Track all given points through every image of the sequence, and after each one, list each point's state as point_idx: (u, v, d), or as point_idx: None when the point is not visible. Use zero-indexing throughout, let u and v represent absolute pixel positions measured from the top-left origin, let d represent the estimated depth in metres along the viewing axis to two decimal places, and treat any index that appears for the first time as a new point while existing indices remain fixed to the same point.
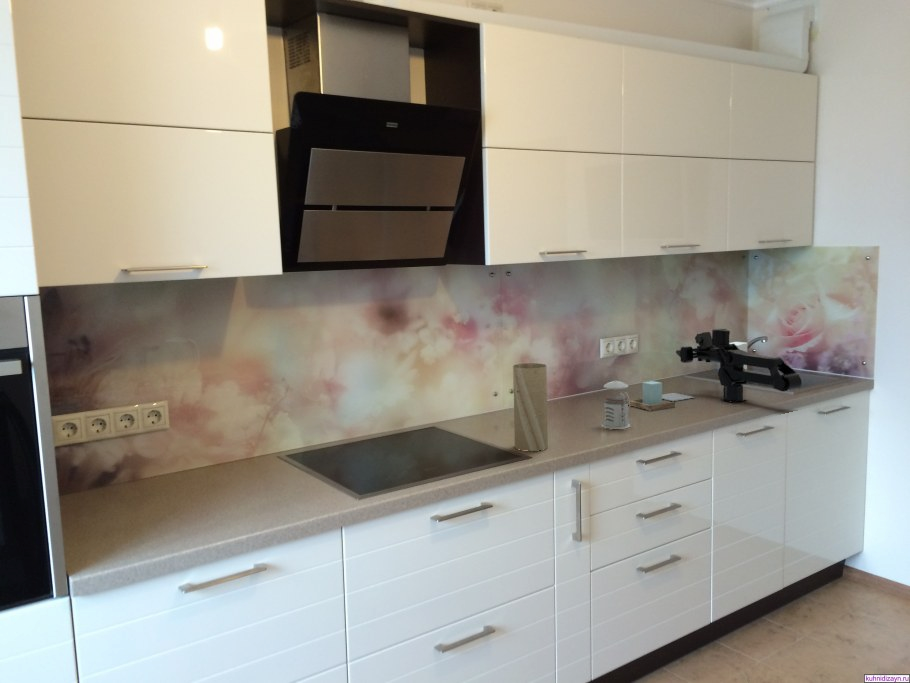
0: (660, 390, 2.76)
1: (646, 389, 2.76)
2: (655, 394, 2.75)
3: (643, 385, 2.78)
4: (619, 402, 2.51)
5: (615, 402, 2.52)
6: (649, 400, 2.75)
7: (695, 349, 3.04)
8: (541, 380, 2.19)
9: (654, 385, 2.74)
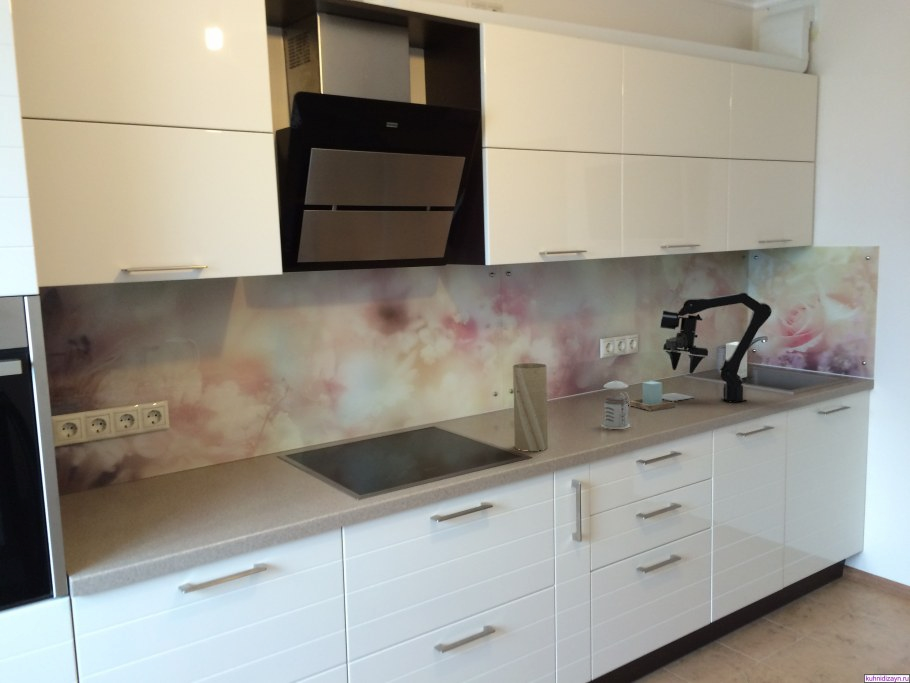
0: (660, 390, 2.76)
1: (646, 389, 2.76)
2: (655, 394, 2.75)
3: (643, 385, 2.78)
4: (619, 402, 2.51)
5: (615, 402, 2.52)
6: (649, 400, 2.75)
7: (674, 366, 2.89)
8: (541, 380, 2.19)
9: (654, 385, 2.74)
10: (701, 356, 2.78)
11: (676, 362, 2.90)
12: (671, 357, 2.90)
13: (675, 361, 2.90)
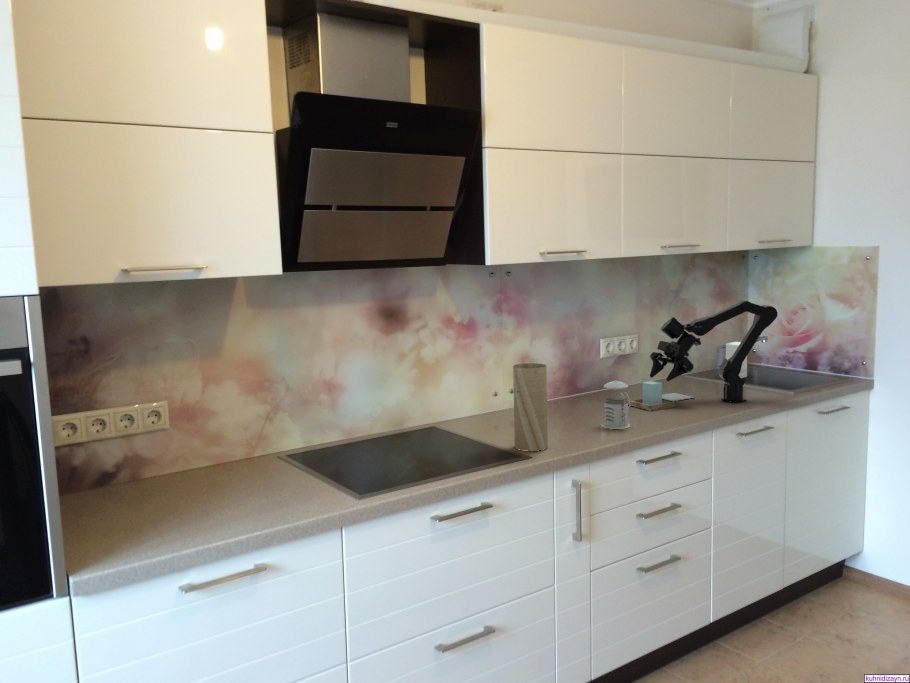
0: (660, 390, 2.76)
1: (646, 389, 2.76)
2: (655, 394, 2.75)
3: (643, 385, 2.78)
4: (619, 402, 2.51)
5: (615, 402, 2.52)
6: (649, 400, 2.75)
7: (652, 373, 2.82)
8: (541, 380, 2.19)
9: (654, 385, 2.74)
10: (685, 368, 2.73)
11: (656, 372, 2.83)
12: (654, 364, 2.84)
13: (655, 370, 2.83)
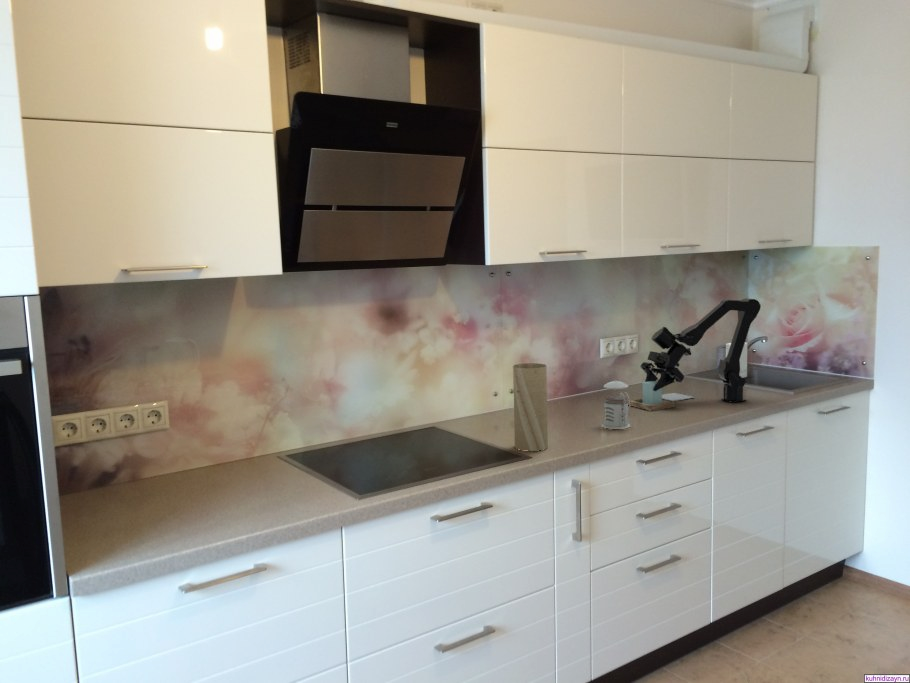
0: (660, 390, 2.76)
1: (646, 389, 2.76)
2: (655, 394, 2.75)
3: (643, 385, 2.78)
4: (619, 402, 2.51)
5: (615, 402, 2.52)
6: (649, 400, 2.75)
7: None
8: (541, 380, 2.19)
9: (654, 385, 2.74)
10: (672, 378, 2.73)
11: None
12: (648, 375, 2.80)
13: None
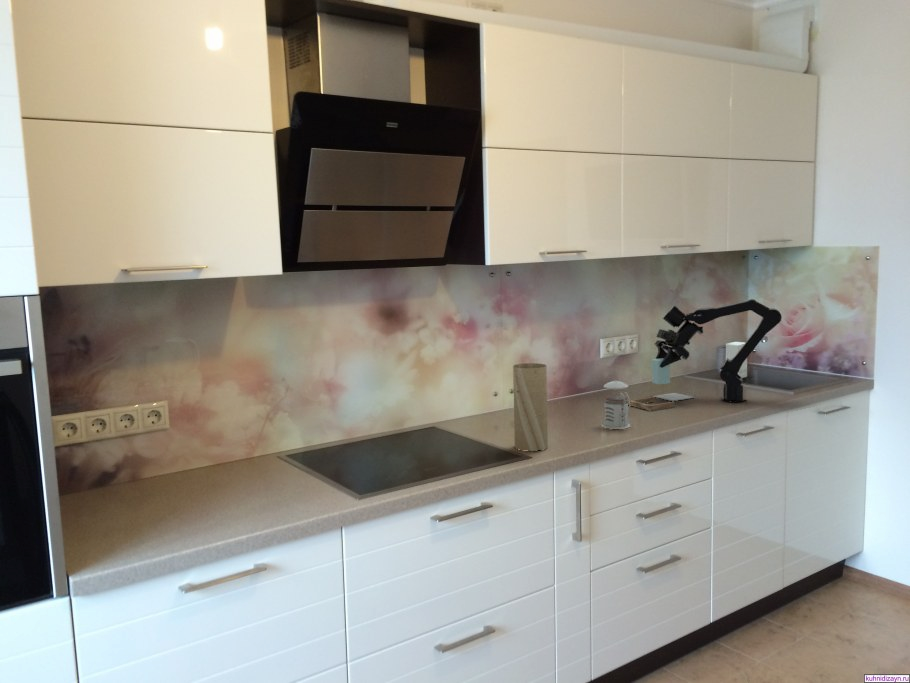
0: (668, 367, 2.83)
1: (654, 365, 2.85)
2: (662, 370, 2.83)
3: (652, 362, 2.86)
4: (619, 402, 2.51)
5: (615, 402, 2.52)
6: (656, 376, 2.84)
7: None
8: (541, 380, 2.19)
9: (660, 362, 2.82)
10: (678, 356, 2.80)
11: None
12: (658, 353, 2.88)
13: (660, 358, 2.88)
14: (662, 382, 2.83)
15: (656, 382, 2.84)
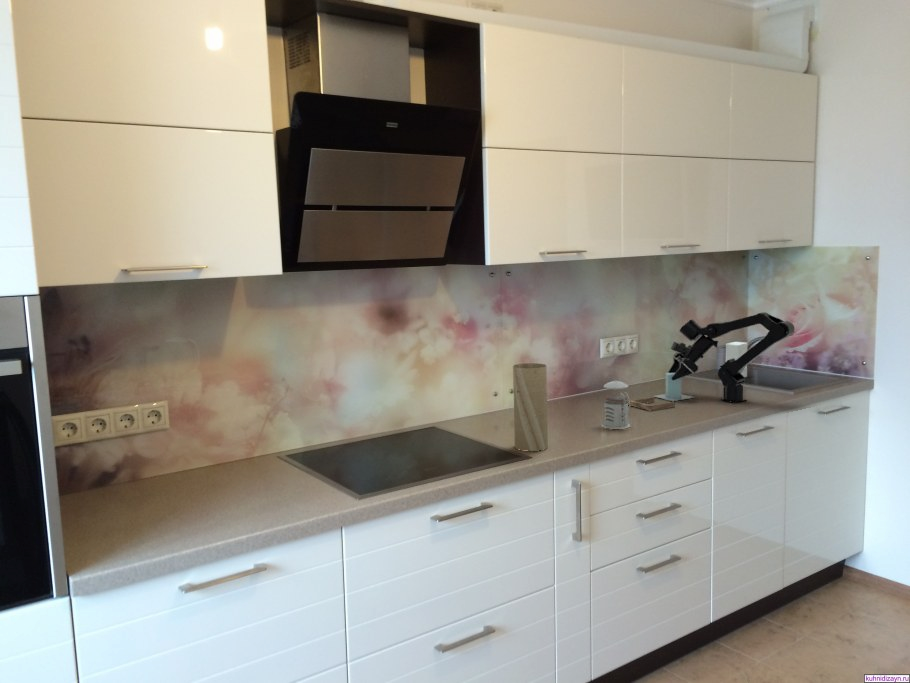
0: (679, 381, 2.88)
1: (666, 379, 2.91)
2: (673, 384, 2.89)
3: None
4: (619, 402, 2.51)
5: (615, 402, 2.52)
6: (667, 390, 2.90)
7: (669, 372, 2.95)
8: (541, 380, 2.19)
9: (671, 376, 2.88)
10: (688, 369, 2.82)
11: (674, 371, 2.95)
12: (673, 364, 2.96)
13: (673, 369, 2.95)
14: (673, 396, 2.89)
15: (667, 395, 2.91)
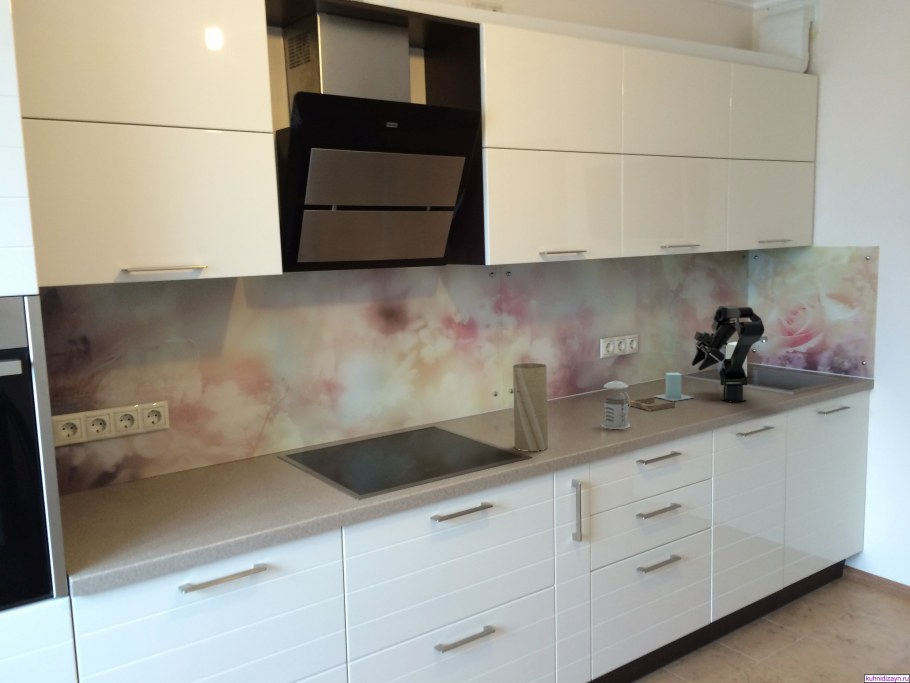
0: (679, 381, 2.88)
1: (666, 379, 2.91)
2: (673, 384, 2.89)
3: None
4: (619, 402, 2.51)
5: (615, 402, 2.52)
6: (667, 390, 2.90)
7: (694, 362, 2.95)
8: (541, 380, 2.19)
9: (671, 376, 2.88)
10: (715, 358, 2.82)
11: (698, 360, 2.95)
12: (696, 353, 2.96)
13: (698, 358, 2.95)
14: (673, 396, 2.89)
15: (667, 395, 2.91)
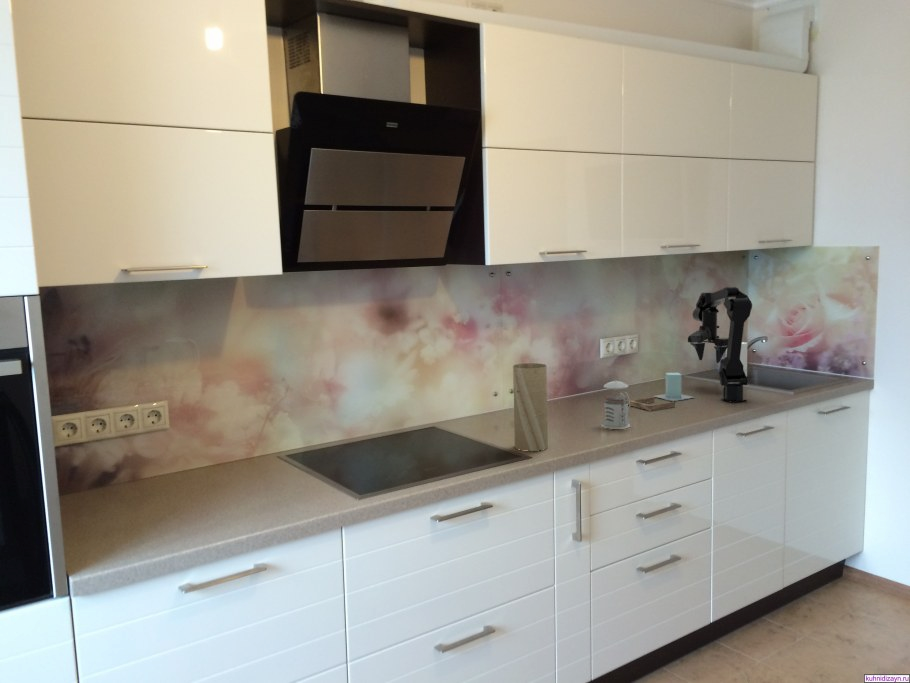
0: (679, 381, 2.88)
1: (666, 379, 2.91)
2: (673, 384, 2.89)
3: None
4: (619, 402, 2.51)
5: (615, 402, 2.52)
6: (667, 390, 2.90)
7: (700, 357, 3.07)
8: (541, 380, 2.19)
9: (671, 376, 2.88)
10: (726, 346, 2.95)
11: (702, 352, 3.07)
12: (696, 348, 3.07)
13: (701, 352, 3.07)
14: (673, 396, 2.89)
15: (667, 395, 2.91)
